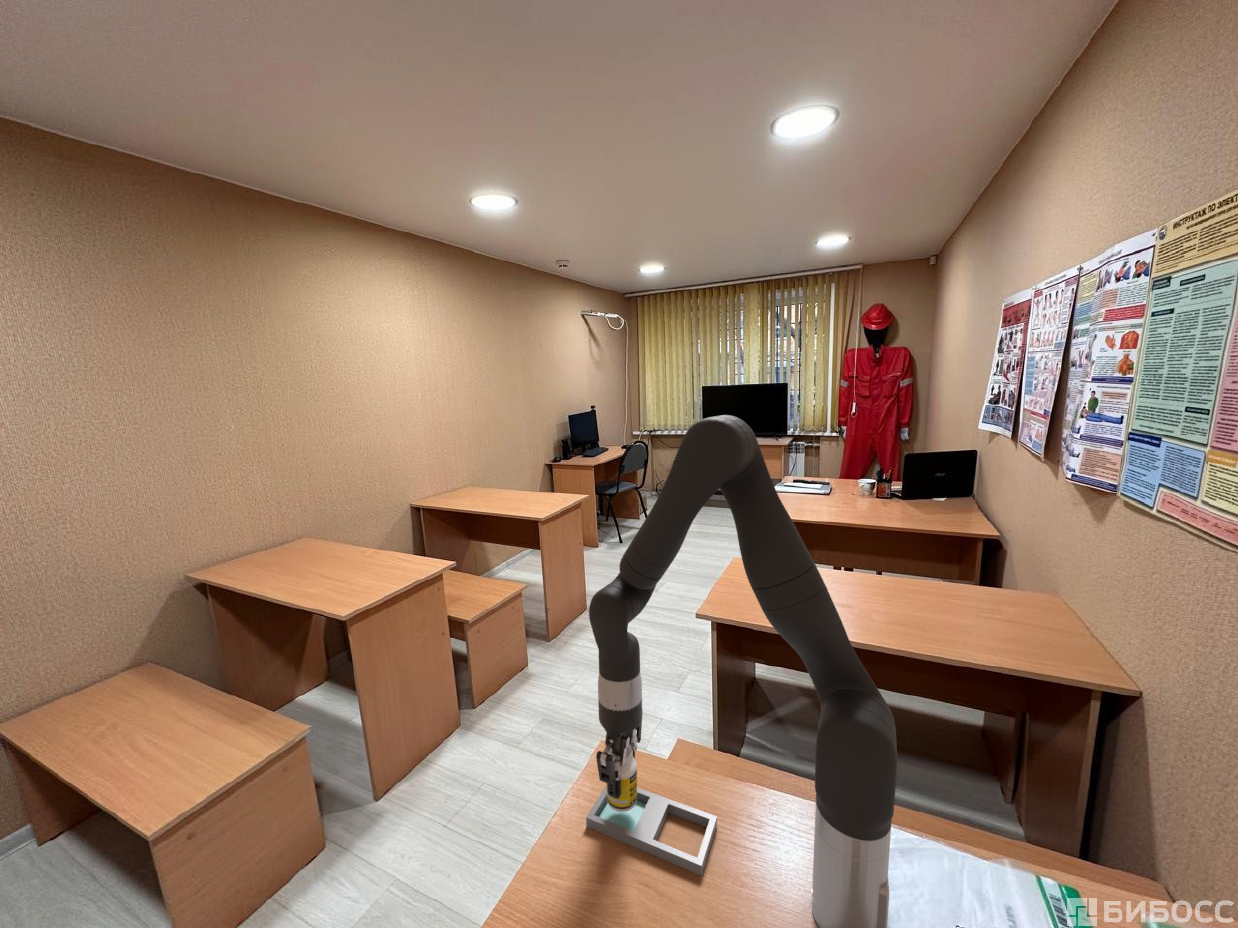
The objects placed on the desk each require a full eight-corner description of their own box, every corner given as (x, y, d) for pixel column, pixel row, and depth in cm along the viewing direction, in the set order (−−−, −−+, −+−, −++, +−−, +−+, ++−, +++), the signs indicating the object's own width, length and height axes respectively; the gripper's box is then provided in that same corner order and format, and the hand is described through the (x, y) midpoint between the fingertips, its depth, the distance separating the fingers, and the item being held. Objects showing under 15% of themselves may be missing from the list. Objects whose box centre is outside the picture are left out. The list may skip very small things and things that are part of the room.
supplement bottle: (634, 815, 81) (633, 763, 79) (603, 810, 82) (602, 759, 80) (639, 789, 86) (638, 740, 84) (610, 785, 87) (609, 737, 86)
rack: (716, 825, 82) (717, 816, 81) (701, 875, 73) (701, 865, 73) (611, 785, 90) (610, 777, 90) (586, 826, 82) (586, 817, 82)
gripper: (621, 727, 73) (623, 823, 75) (655, 677, 86) (656, 760, 88) (579, 713, 76) (583, 806, 79) (618, 667, 89) (620, 748, 91)
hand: (622, 782), depth 83 cm, fingers closed on supplement bottle, 5 cm apart
